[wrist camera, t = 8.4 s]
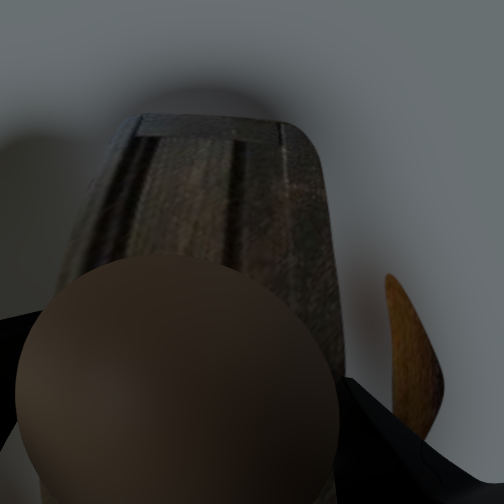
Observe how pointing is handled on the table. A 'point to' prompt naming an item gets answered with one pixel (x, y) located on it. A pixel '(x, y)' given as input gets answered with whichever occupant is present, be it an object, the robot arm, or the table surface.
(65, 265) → the table surface
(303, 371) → the brown flanged cylinder
